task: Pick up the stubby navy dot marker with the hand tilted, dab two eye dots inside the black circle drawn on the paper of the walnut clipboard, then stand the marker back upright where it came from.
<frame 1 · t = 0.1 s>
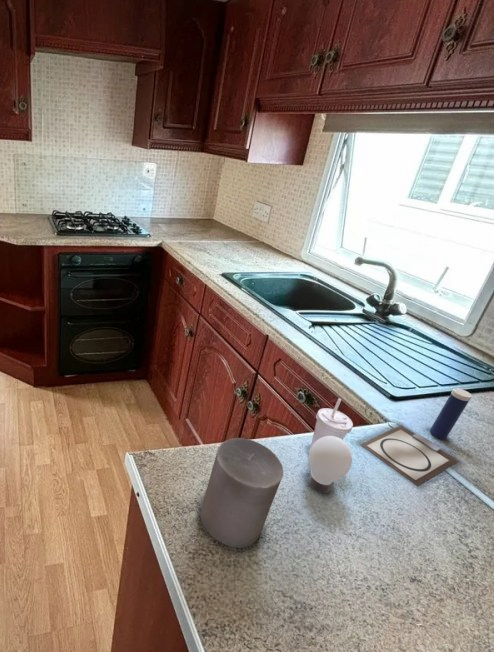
light bulb: (317, 486, 75), on the countertop
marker: (436, 436, 91), on the countertop
smoothie: (318, 456, 82), on the countertop
pillar candle: (228, 523, 66), on the countertop
clipboard: (407, 454, 85), on the countertop
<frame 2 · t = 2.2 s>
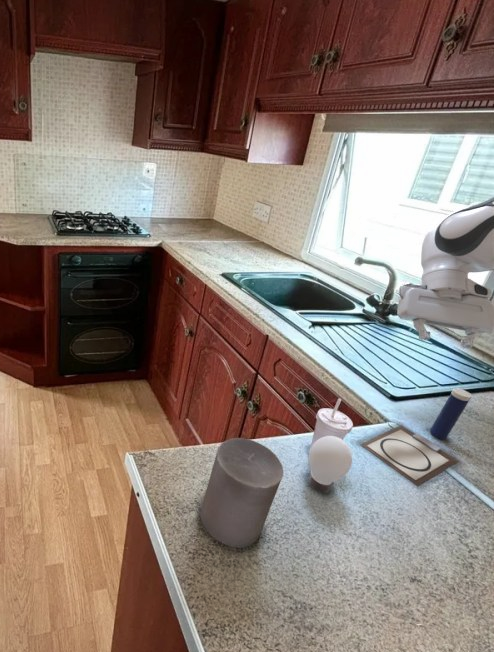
hand: (445, 343, 94), 18 cm above the countertop, tool tilted 45°, fingers open, 8 cm apart
nothing on the countertop moved.
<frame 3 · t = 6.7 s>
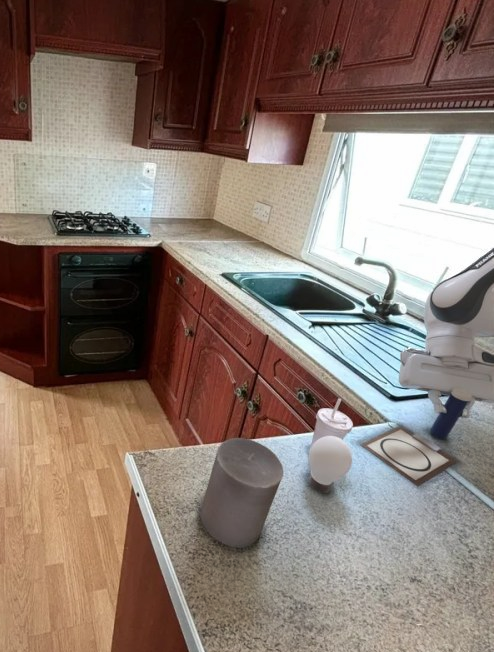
hand: (451, 415, 88), 7 cm above the countertop, tool tilted 45°, fingers closed on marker, 3 cm apart
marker: (436, 436, 91), on the countertop, touching gripper
everything else where it was.
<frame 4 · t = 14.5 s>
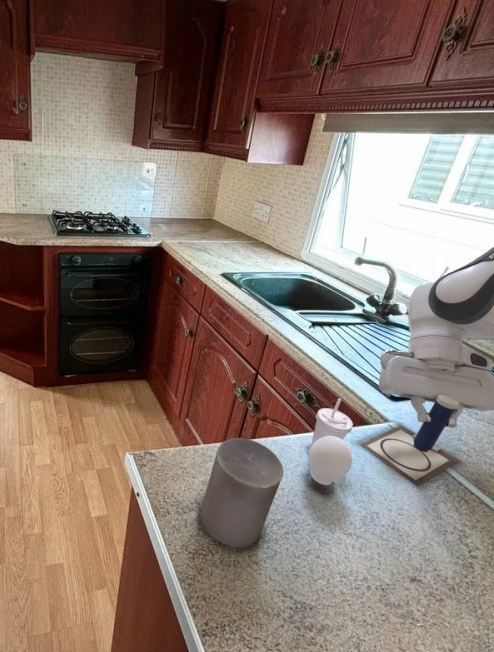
hand: (437, 424, 78), 10 cm above the countertop, tool tilted 45°, fingers closed on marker, 3 cm apart
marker: (420, 447, 82), point 3 cm above the countertop, touching gripper
everything else where it was.
when the fingers open (6 cm above the countertop, at t = 22.5 s): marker stays where it is, on the countertop.
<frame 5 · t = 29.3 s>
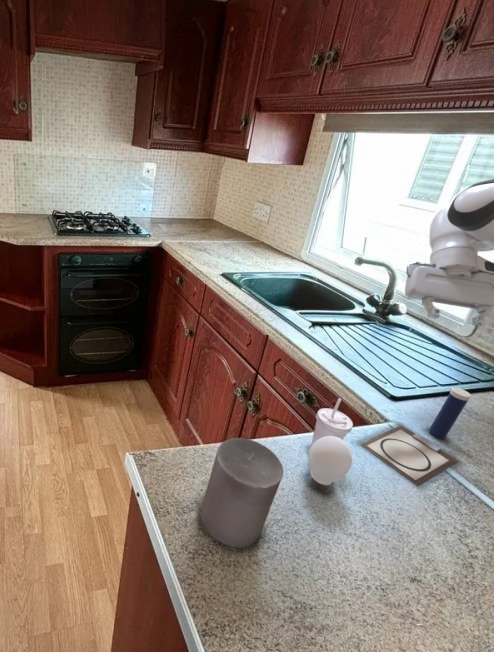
hand: (456, 321, 92), 23 cm above the countertop, tool tilted 45°, fingers open, 8 cm apart
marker: (435, 435, 91), on the countertop
everything else where it was.
at the end: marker tilted 0°; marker inside the target area (0.2 cm from its centre), on the countertop; the gripper is holding nothing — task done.
